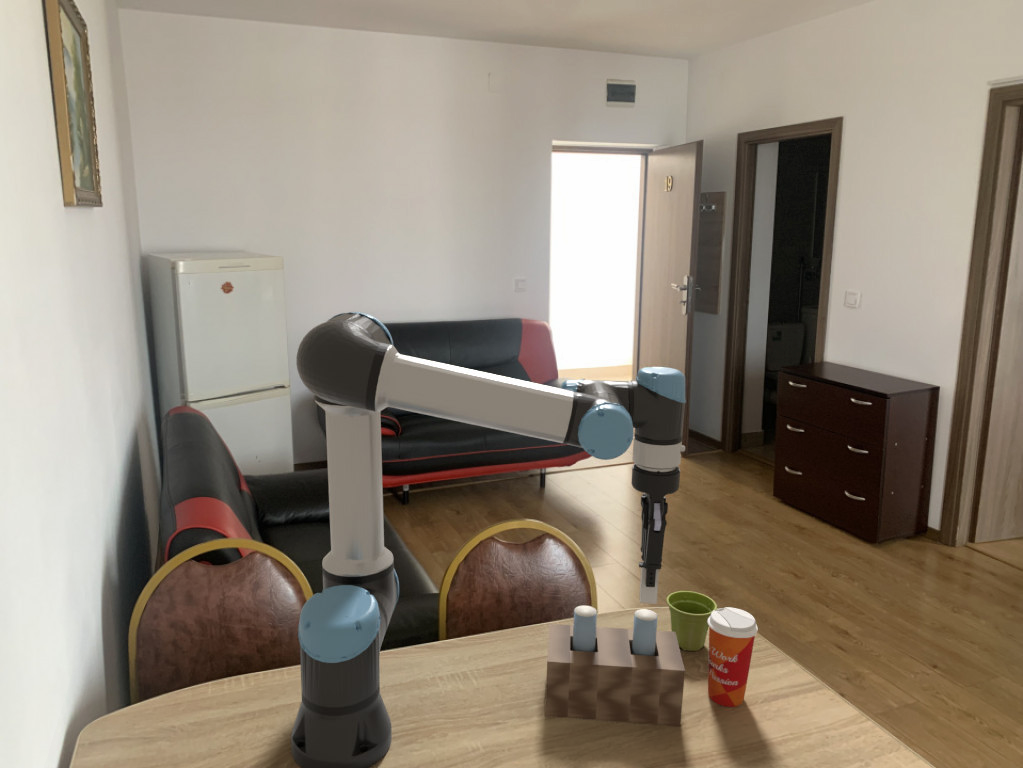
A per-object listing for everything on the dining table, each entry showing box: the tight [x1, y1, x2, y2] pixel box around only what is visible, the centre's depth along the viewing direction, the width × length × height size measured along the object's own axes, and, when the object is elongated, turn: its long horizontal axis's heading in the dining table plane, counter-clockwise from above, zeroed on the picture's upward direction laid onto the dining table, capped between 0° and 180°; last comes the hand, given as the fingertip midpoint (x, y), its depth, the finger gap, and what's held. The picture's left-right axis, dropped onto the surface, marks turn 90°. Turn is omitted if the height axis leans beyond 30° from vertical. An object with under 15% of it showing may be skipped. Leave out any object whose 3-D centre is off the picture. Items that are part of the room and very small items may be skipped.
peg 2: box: [632, 608, 658, 656], centre depth 130 cm, size 4×4×10 cm
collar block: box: [544, 623, 686, 727], centre depth 131 cm, size 22×12×10 cm, turn 86°
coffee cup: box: [707, 606, 759, 708], centre depth 132 cm, size 8×8×15 cm
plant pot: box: [666, 590, 718, 652], centre depth 150 cm, size 9×9×9 cm
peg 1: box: [572, 605, 598, 652], centre depth 130 cm, size 4×4×10 cm
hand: (648, 601), depth 128 cm, fingers closed
